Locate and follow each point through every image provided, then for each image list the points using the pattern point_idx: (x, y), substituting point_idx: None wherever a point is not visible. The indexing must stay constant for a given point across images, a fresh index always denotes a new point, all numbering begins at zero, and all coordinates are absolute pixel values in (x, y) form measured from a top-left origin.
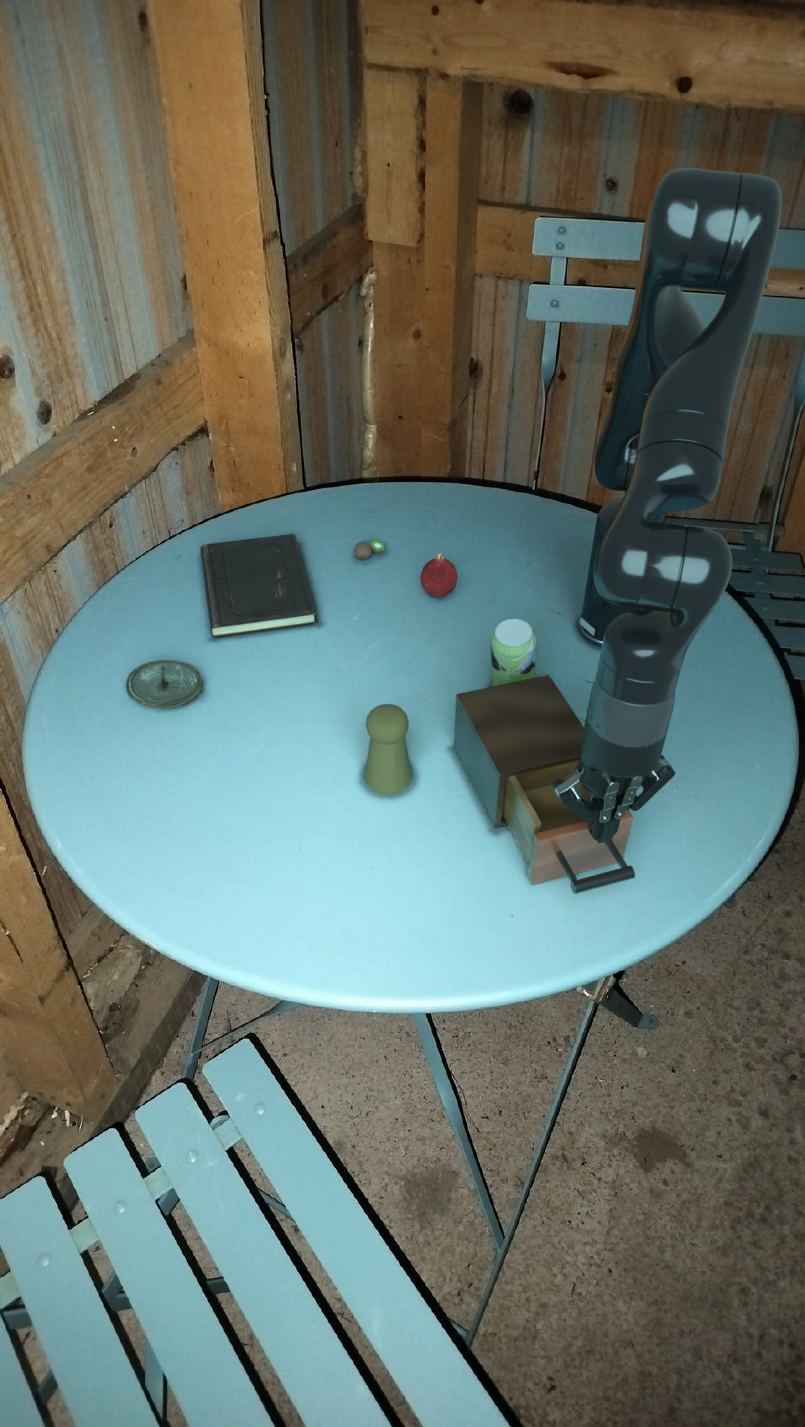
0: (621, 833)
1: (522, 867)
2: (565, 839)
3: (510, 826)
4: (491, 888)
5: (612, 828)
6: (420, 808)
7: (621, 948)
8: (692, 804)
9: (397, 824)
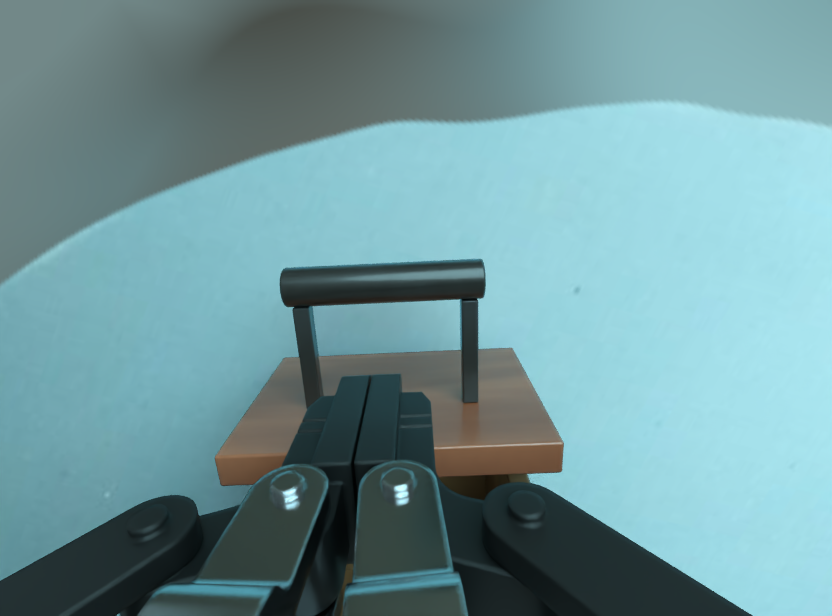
0: (269, 415)
1: None
2: (460, 431)
3: None
4: (587, 365)
5: (341, 420)
6: None
7: (372, 138)
8: (76, 458)
9: (692, 543)
